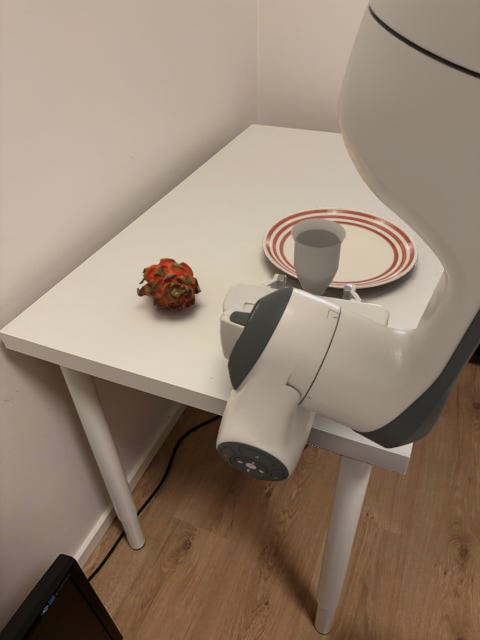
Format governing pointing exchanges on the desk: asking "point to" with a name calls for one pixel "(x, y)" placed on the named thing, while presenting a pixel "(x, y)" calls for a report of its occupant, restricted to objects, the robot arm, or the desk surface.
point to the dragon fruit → (170, 284)
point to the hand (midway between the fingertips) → (315, 283)
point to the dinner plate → (349, 246)
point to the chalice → (317, 253)
